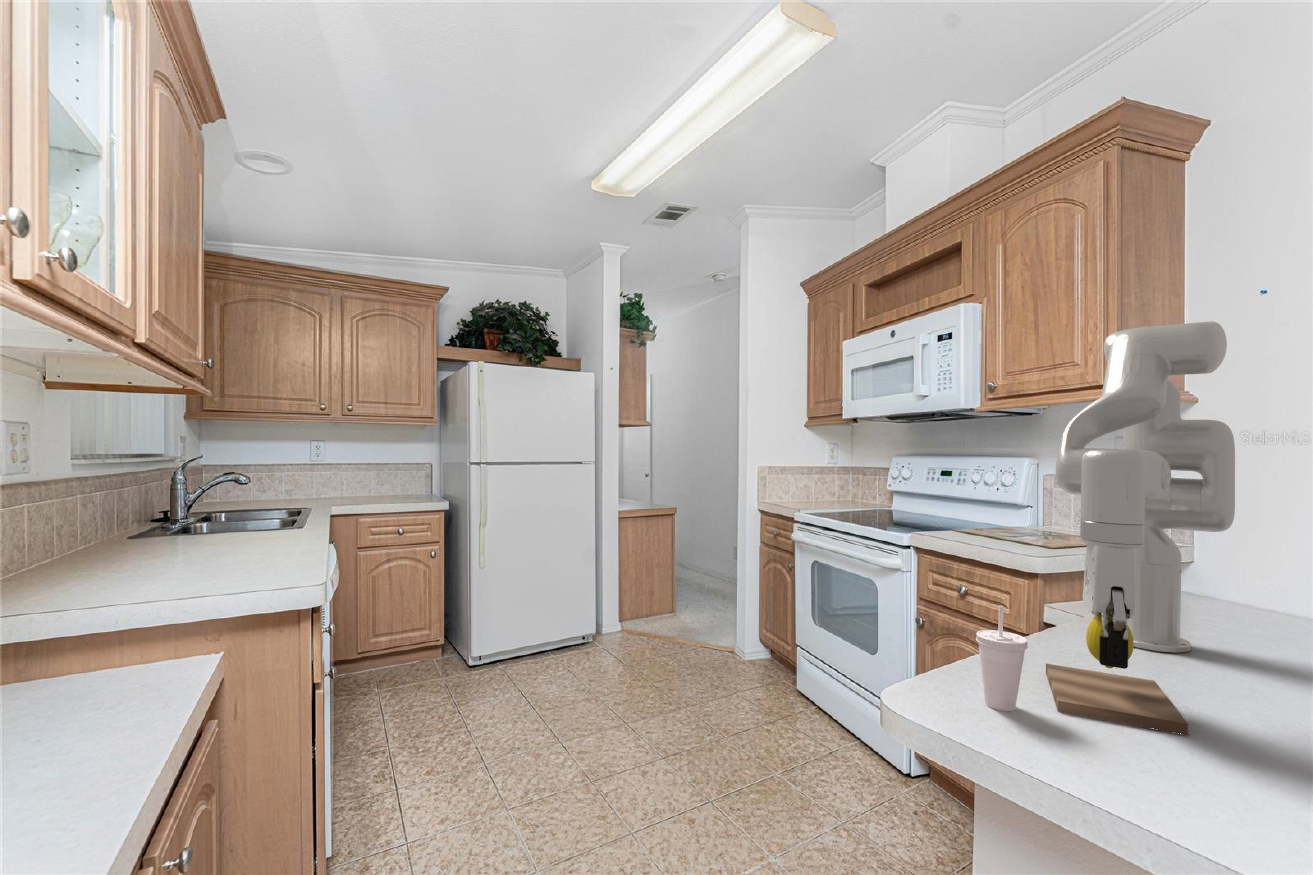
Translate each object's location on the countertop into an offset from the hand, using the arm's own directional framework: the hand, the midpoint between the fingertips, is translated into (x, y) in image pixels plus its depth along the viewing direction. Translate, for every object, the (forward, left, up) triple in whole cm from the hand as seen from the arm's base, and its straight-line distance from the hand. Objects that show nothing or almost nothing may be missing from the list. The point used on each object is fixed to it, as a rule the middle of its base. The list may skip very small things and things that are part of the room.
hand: (1109, 658), depth 90 cm
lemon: (0, 0, -2) cm, 2 cm away
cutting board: (0, 0, -6) cm, 6 cm away
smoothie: (+10, -14, -6) cm, 19 cm away
